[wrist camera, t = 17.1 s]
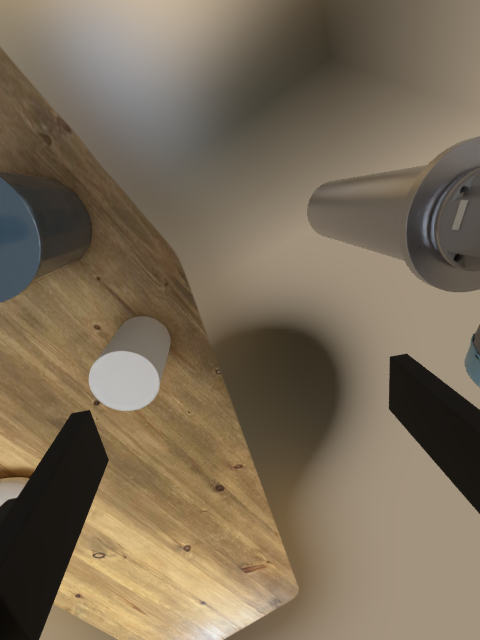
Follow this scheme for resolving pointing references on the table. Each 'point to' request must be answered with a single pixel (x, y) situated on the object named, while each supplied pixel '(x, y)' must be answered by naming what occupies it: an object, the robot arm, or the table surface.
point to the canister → (54, 220)
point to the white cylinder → (131, 365)
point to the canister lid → (17, 242)
